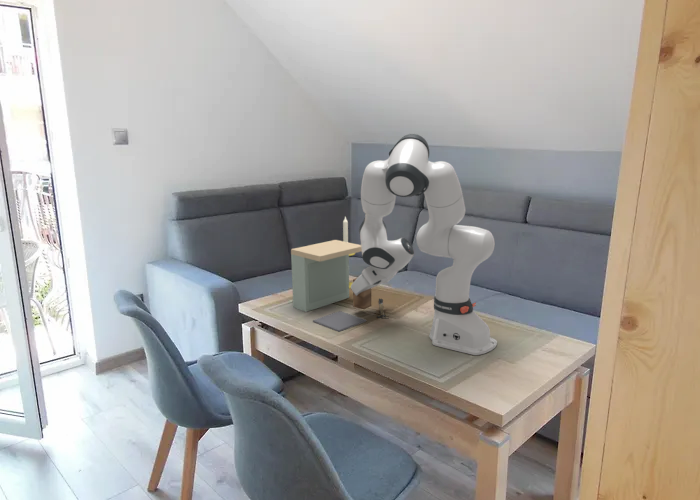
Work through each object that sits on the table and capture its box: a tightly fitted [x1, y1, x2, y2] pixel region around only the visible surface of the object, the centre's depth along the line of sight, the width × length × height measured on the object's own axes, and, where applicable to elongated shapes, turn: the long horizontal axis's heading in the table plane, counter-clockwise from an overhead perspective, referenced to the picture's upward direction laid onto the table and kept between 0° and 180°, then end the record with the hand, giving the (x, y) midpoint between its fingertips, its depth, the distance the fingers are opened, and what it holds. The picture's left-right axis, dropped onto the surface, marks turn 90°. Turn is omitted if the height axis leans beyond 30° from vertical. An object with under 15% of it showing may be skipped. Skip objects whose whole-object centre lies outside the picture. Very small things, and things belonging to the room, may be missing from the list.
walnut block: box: [352, 277, 372, 310], centre depth 191 cm, size 5×5×11 cm
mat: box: [312, 310, 367, 333], centre depth 185 cm, size 14×14×1 cm
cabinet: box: [290, 239, 362, 313], centre depth 201 cm, size 17×24×24 cm
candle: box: [342, 215, 356, 290], centre depth 225 cm, size 10×10×32 cm
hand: (361, 291), depth 191 cm, fingers closed on walnut block, 5 cm apart
